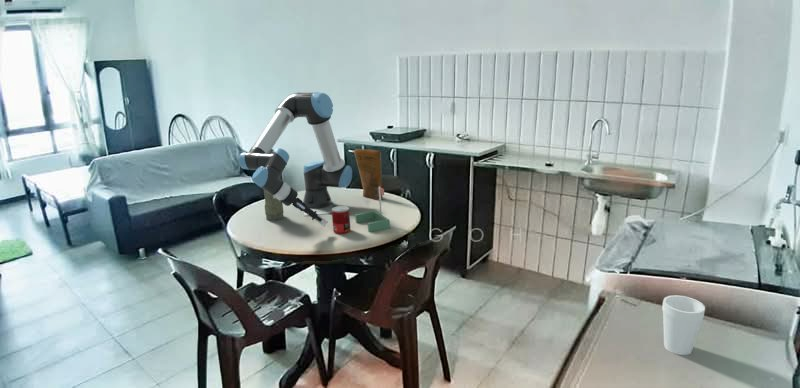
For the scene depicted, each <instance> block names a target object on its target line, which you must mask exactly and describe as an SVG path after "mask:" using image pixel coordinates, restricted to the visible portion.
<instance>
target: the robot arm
mask: <svg viewBox="0 0 800 388" xmlns="http://www.w3.org/2000/svg"><path fill="white" fill-rule="evenodd" d="M333 107H334V105H333V100H332V98H331V97H330V95H328V94H327V93H325V92H319V91H318V92H317V91H316V92H315V91H314V92H295V93H291V94H290V95H288V96H286V97H285V98H284V99H283V100H281V102H280V103H279V104H278V105H277V107H276V108H275V110H274V115H273V116H272V118H271V119H270V121H269V122H268V124H267V125H266V126H265V128H264V129H263V131H262V132H261V134H260V135H259V137H258V138H257V139H256V141H255V142H254V143H253V145H252V146H251V148H250V150H249V151H245V152H242V153H240V154H239V156H238V165H239V167H241V169H243V170H249V171H255V172H253V174H252V177H251V180H252V181H253V183H255V185H257V186H258V187H259V188H261V189H263V191H264V190H265V191H267V192H268V193H270V194H271V195H273V196H274V197H273V198H274V199H275V198H277V199H278V200H280V201H281V202H282V204H283V205H285V206H286V207H289V206H291V205H292V206H293V207H294V208H296V209H298V210H300V211H301V212H303V213H305V214H306V215H308V216H309V217H310V218H311V220H312V221H316V222H318V223H319V224H320V225H321V226H323V227H326V225H327V224H328V222H329V221H328V220H326V219H325V218H324V217H323V216H321V215H319V214H318V213H317V210H313V208H314V209H317V208H318V207H319V208H324V207H328V206H330V205H331V204H332V198H331V195H330V193H329V191H328V188H339V189H341V188H348V186H349V185H350V184H351V181H352V178H353V169H352V167H351V166H350V165H346V161H345V160H344V159H343V158H341V155H340V152H339V150H338V146H337V142H336V138H335V136H334V132H333V128H332V126H331V123H330V120H331V118H332V115H333V111H334V108H333ZM297 118H305V119H306V122H307V124H308V125H310V126H312V129H313V132H314V135H315V138H316V141H317V144H318V147H319V150H320V153H321V157H322V159H323V160H318V161H313V162H309V163H306V164H304V165H303V179H304V188H305V189H304V190H305V192H304V195H303V196H304V197H303V200H302V199H301V198H299V197H298V191H297V190H296V189H294V188H293V187H291V186H290V185H289V184H288V183H286V182H285V181H284V180H282V179H281V178H279V177H280V176H281V174H282V175H283V172H284V170H285V168H286V166H287V165H288V162H289V159H290V154H289V152H287V150H285V149H283V148H279V147H277V148H275V149H273V148H274V146H275V145H276V144H277V142H278V140H279V139H280V138H281V136H282V134H283V132H285V130H286V128H287V126H289V124H291V123H293V122H294V120H295V119H297ZM271 149H273V150H274V151H273V152H272V153H271V154H270V153H269V152H270V151H271ZM309 207H310V208H309Z"/></svg>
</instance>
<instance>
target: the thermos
mask: <svg viewBox="0 0 800 388" xmlns="http://www.w3.org/2000/svg"><path fill="white" fill-rule="evenodd" d="M273 151H274V149H273V148H272V149H271V151H270V152H269V153H270V154H271V153H272V152H273ZM282 175H283V173H282V174H281V176H280V177H279V178H280V179H281V178H282V177H283V176H282ZM263 194H264V202H265V203H264V213H265V216H266V217H265V218H266V221H270V220H274V221H279V220H282V219H284V217H285V216H284V212H285V211H284V204H283V203H282V202H281V201H280V200H278V199H277V198H275V199H274V198H273V197H274V196H273V195H271V194H270V193H268V192H267V191H265V190H264V189H263Z"/></svg>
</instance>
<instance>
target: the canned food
mask: <svg viewBox="0 0 800 388" xmlns="http://www.w3.org/2000/svg"><path fill="white" fill-rule="evenodd" d="M350 216H351V215H350V208H349V206H346V205H345V206H343V205H337V206H335V207H332V208H331V217H332V219H331V220H332V229H333V230H332V231H333V233H335V234H338V235H343V234H348V233H350V231H351V219H350V218H351V217H350Z"/></svg>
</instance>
